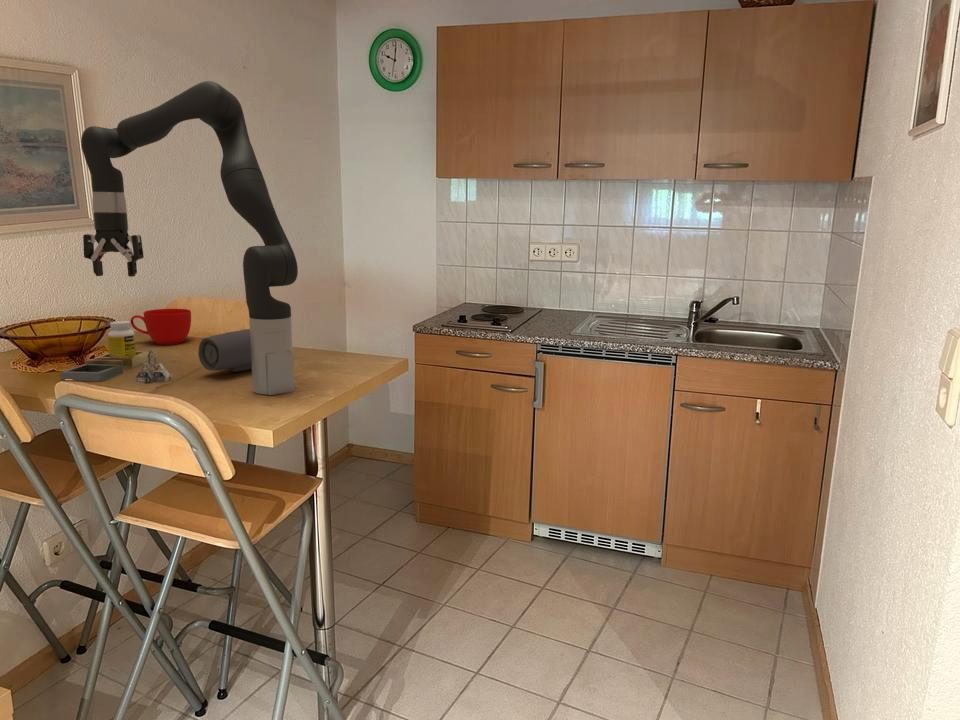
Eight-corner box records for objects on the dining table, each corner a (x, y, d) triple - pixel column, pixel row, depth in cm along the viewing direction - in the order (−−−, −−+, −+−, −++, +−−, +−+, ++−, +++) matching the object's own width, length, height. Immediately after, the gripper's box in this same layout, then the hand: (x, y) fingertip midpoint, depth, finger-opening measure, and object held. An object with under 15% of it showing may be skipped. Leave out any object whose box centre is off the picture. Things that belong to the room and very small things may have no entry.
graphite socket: (122, 373, 177) (122, 365, 177) (100, 381, 168) (99, 373, 167) (85, 371, 178) (84, 363, 177) (61, 380, 168) (60, 372, 168)
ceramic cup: (138, 341, 220) (135, 308, 218) (196, 340, 223) (194, 308, 221) (126, 349, 207) (123, 314, 205) (188, 348, 210) (185, 314, 208)
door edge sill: (123, 369, 181) (122, 360, 180) (121, 370, 179) (120, 361, 179) (87, 369, 180) (86, 359, 180) (85, 370, 179) (84, 360, 179)
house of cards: (117, 388, 164) (115, 354, 162) (135, 379, 172) (132, 347, 171) (157, 388, 164) (155, 355, 162) (173, 379, 172) (170, 348, 171)
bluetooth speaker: (222, 378, 173) (220, 337, 171) (197, 373, 178) (195, 333, 176) (293, 363, 192) (292, 326, 190) (269, 358, 197) (267, 322, 195)
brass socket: (149, 360, 192) (148, 351, 191) (132, 368, 183) (132, 358, 182) (113, 360, 192) (113, 350, 191) (95, 367, 183) (94, 357, 182)
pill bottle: (129, 366, 184) (126, 324, 182) (105, 366, 184) (101, 323, 182) (141, 362, 190) (137, 320, 188) (118, 361, 190) (114, 320, 188)
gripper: (145, 211, 183) (150, 275, 186) (91, 210, 184) (97, 274, 187) (129, 211, 175) (134, 278, 179) (73, 210, 176) (79, 276, 180)
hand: (115, 276), depth 183 cm, fingers open, 8 cm apart
